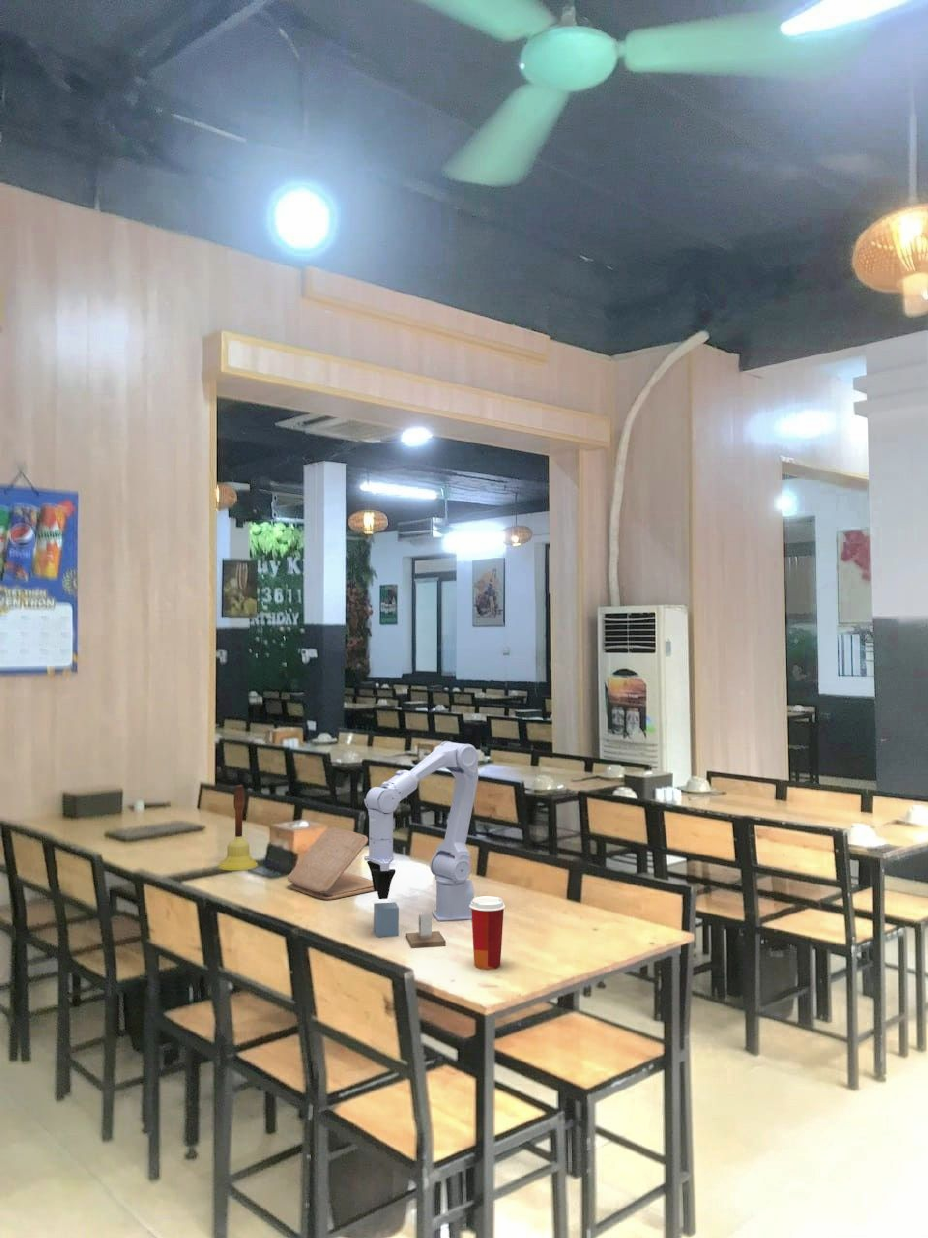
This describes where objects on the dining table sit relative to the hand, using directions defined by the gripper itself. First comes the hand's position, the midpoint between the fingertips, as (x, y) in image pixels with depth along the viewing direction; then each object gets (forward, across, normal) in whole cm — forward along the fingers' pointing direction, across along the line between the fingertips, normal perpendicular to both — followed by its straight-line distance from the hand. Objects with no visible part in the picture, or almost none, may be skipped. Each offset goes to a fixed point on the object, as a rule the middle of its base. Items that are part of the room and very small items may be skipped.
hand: (380, 894), depth 231 cm
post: (+8, +9, +9) cm, 15 cm away
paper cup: (+9, +28, +20) cm, 35 cm away
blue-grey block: (+9, +1, +1) cm, 9 cm away
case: (+10, -44, -7) cm, 45 cm away
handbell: (+9, -77, -35) cm, 85 cm away
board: (+9, +9, +9) cm, 16 cm away
